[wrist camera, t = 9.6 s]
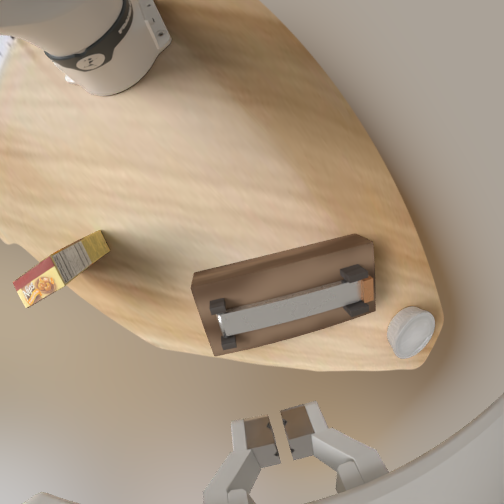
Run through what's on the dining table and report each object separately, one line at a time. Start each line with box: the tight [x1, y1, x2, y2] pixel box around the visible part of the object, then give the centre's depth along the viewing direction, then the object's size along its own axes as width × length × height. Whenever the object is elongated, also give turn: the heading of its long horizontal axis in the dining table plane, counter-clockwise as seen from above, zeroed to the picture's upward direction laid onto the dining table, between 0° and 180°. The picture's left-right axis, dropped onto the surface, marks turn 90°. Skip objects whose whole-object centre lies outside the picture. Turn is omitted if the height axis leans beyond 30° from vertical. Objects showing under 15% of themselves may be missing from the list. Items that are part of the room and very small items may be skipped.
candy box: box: [13, 230, 110, 308], centre depth 31 cm, size 9×4×15 cm, turn 113°
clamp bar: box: [216, 275, 374, 338], centre depth 37 cm, size 4×23×2 cm, turn 102°
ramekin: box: [387, 306, 435, 359], centre depth 48 cm, size 11×11×5 cm
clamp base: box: [191, 234, 376, 356], centre depth 40 cm, size 12×27×9 cm, turn 102°
